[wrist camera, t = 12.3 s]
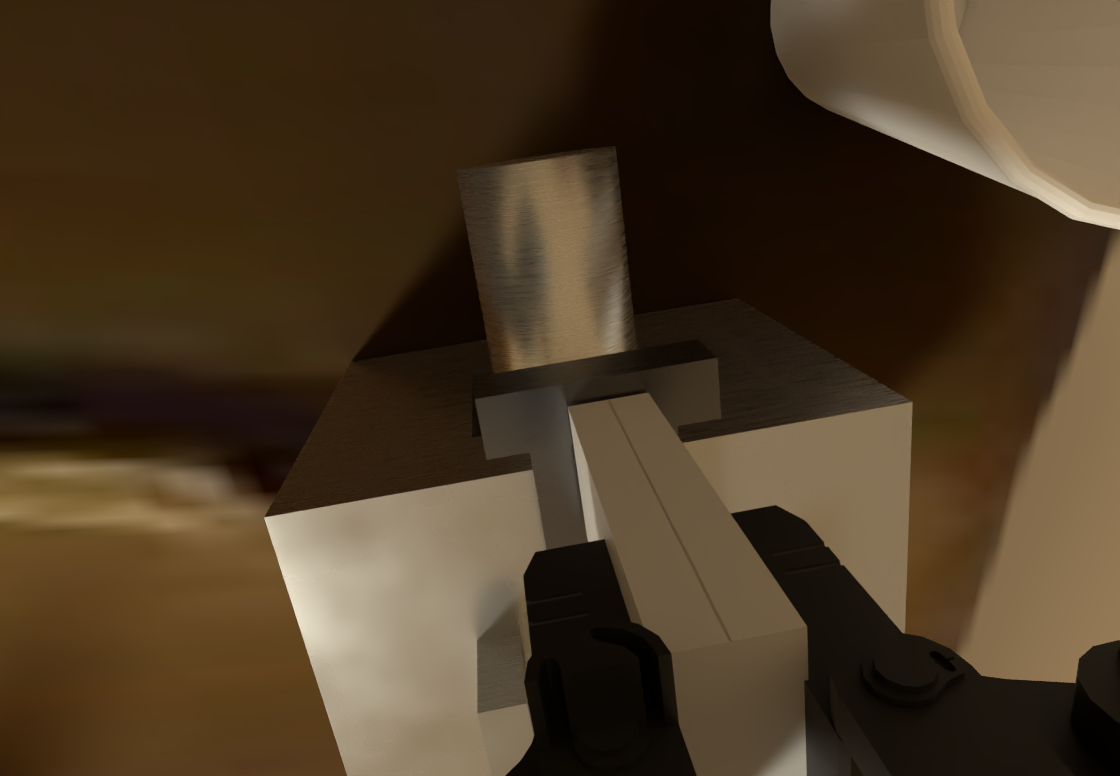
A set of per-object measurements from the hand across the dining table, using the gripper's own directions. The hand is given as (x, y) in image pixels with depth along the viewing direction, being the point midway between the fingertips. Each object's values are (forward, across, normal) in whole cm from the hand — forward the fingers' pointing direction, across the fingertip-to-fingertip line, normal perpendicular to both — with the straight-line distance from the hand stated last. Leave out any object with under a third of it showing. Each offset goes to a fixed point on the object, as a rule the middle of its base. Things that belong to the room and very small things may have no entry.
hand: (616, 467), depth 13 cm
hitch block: (+13, 0, -6) cm, 14 cm away
